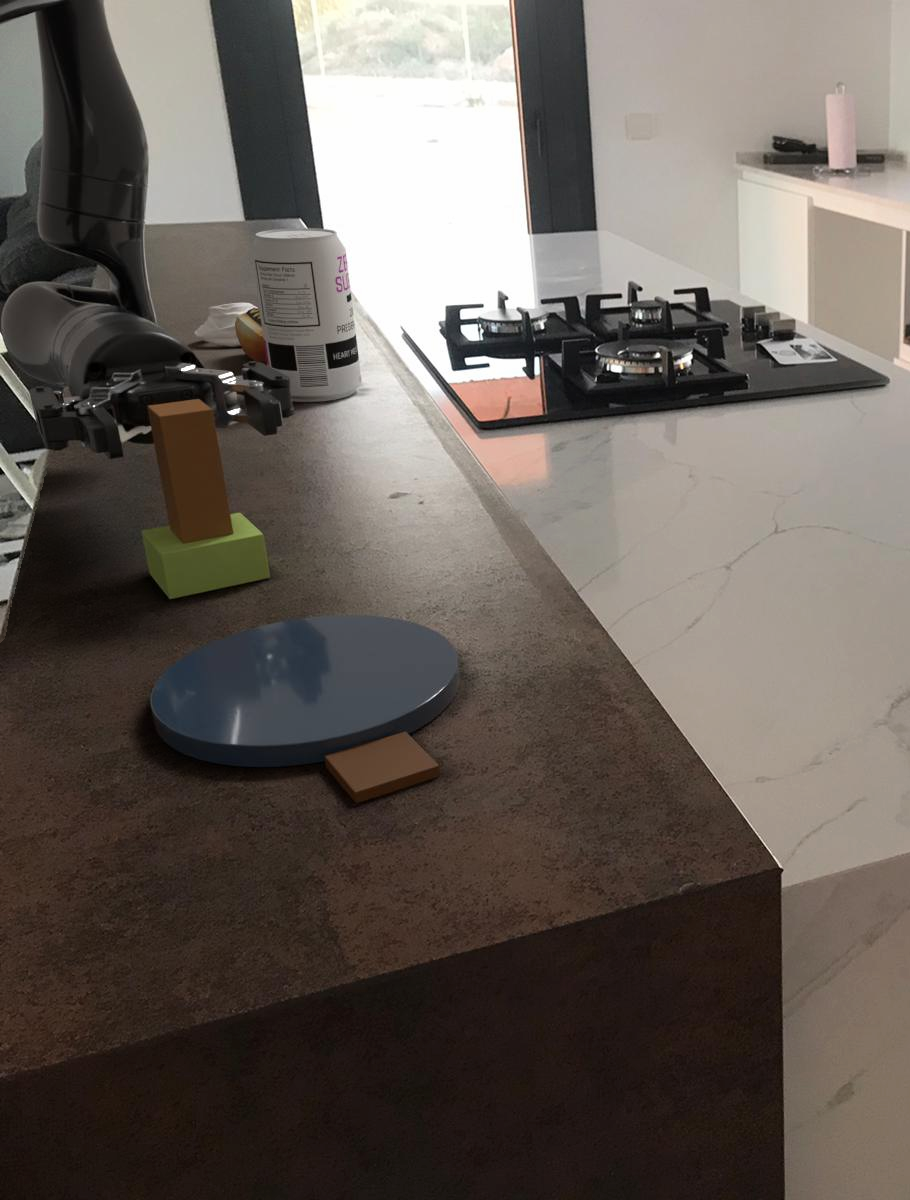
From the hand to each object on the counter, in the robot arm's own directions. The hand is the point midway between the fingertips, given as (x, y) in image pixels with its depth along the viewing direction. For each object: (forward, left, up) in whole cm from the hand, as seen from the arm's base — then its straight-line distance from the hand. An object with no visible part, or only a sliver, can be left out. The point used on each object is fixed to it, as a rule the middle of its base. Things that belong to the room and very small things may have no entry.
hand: (194, 429), depth 75 cm
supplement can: (+21, +46, -11) cm, 51 cm away
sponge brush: (0, +3, -10) cm, 11 cm away
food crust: (0, -26, -11) cm, 28 cm away
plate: (0, -16, -10) cm, 19 cm away
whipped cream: (+21, +74, -11) cm, 77 cm away
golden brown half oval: (+21, +61, -11) cm, 65 cm away
